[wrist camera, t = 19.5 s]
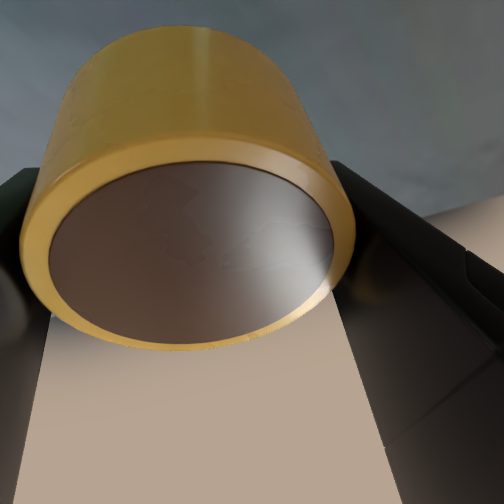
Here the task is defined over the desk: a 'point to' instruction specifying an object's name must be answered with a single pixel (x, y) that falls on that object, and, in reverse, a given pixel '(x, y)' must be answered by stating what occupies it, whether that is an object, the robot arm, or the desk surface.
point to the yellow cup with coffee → (184, 197)
